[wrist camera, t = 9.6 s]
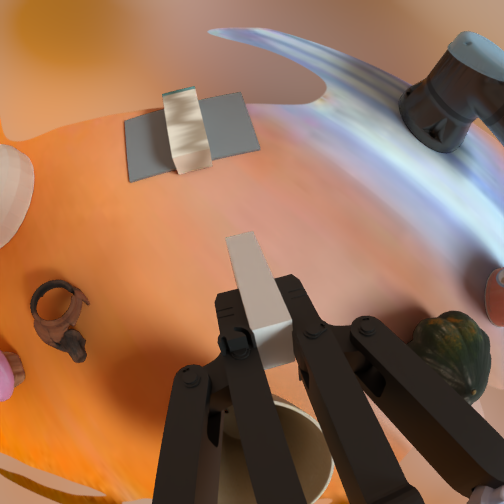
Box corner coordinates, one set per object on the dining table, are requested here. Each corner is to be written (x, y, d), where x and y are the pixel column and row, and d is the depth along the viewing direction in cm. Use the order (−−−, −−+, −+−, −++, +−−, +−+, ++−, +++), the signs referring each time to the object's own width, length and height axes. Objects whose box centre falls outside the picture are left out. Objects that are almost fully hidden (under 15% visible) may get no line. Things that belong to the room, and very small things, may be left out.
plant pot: (188, 456, 34) (165, 520, 18) (191, 359, 37) (162, 388, 21) (293, 461, 34) (320, 525, 19) (305, 366, 37) (346, 398, 22)
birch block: (212, 166, 42) (197, 105, 44) (209, 148, 37) (194, 86, 39) (178, 174, 41) (167, 113, 43) (172, 157, 36) (162, 94, 38)
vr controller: (38, 325, 37) (15, 297, 30) (81, 294, 42) (66, 262, 36) (74, 385, 32) (49, 365, 26) (122, 348, 38) (107, 321, 32)
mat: (240, 93, 45) (240, 91, 45) (260, 150, 43) (260, 148, 43) (125, 122, 43) (124, 120, 43) (130, 182, 41) (129, 181, 41)
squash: (484, 298, 35) (497, 315, 23) (486, 387, 32) (492, 432, 21) (403, 314, 43) (383, 335, 31) (409, 397, 41) (388, 442, 29)
